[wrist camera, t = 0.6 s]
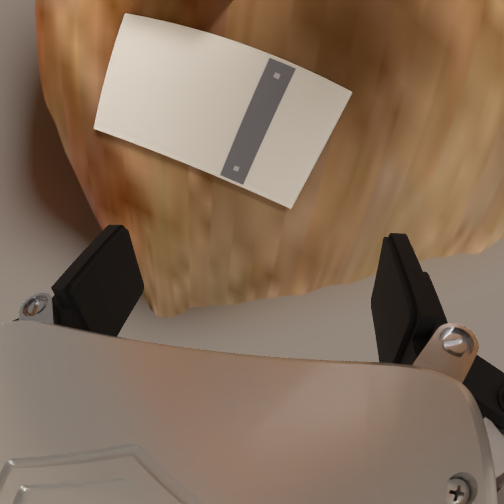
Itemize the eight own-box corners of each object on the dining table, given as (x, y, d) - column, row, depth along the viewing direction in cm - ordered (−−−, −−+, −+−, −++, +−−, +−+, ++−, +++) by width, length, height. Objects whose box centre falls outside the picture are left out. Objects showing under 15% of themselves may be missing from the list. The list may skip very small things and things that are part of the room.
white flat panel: (129, 13, 29) (124, 13, 28) (351, 91, 31) (352, 92, 30) (98, 126, 38) (93, 129, 37) (291, 204, 40) (290, 209, 39)
